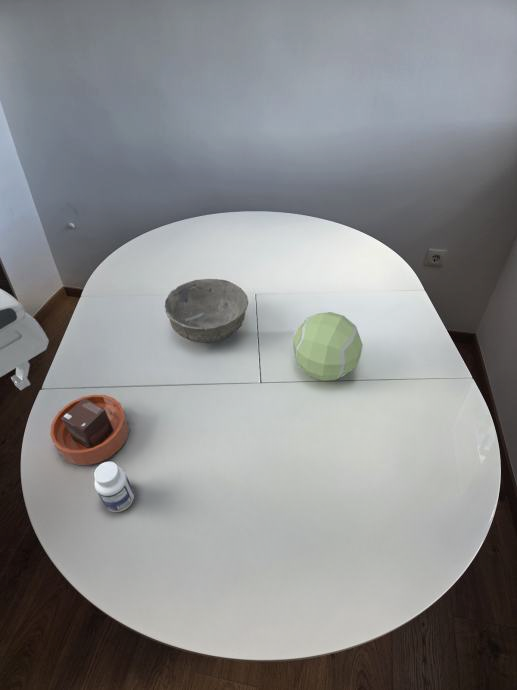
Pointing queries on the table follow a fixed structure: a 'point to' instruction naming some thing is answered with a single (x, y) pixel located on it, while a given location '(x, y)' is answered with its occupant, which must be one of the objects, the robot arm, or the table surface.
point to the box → (88, 423)
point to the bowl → (206, 309)
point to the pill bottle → (113, 487)
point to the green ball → (327, 346)
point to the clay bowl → (106, 449)
